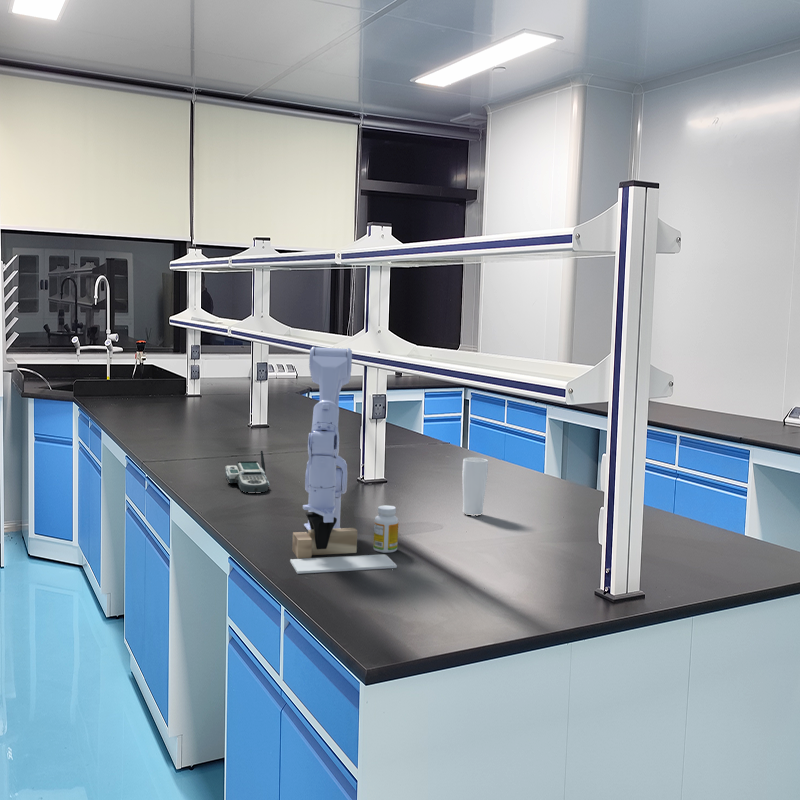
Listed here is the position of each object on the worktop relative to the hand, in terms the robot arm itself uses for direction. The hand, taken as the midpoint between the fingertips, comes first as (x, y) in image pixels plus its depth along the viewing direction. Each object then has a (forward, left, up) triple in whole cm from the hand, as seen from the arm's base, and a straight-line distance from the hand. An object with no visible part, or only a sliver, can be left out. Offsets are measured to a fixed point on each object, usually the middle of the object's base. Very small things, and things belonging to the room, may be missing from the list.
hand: (320, 546), depth 177 cm
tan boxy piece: (0, +1, -1) cm, 2 cm away
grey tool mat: (+9, +3, -1) cm, 10 cm away
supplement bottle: (0, +15, -2) cm, 15 cm away
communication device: (-70, -6, -2) cm, 70 cm away
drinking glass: (-27, +48, -2) cm, 55 cm away
